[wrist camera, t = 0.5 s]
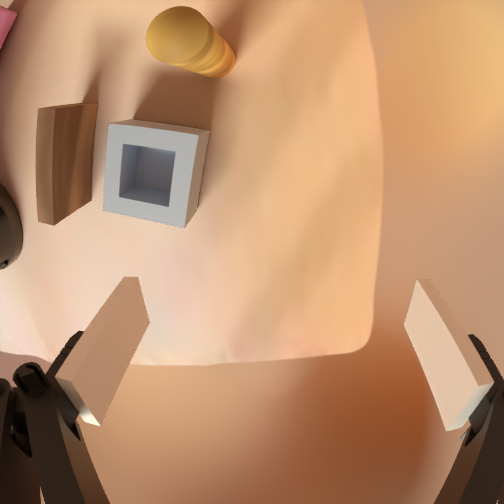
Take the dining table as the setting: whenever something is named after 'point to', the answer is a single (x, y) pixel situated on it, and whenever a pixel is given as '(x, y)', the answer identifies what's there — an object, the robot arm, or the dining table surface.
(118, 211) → the block
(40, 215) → the board
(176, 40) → the golden brown tall cylinder
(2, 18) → the teapot
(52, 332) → the dining table surface
